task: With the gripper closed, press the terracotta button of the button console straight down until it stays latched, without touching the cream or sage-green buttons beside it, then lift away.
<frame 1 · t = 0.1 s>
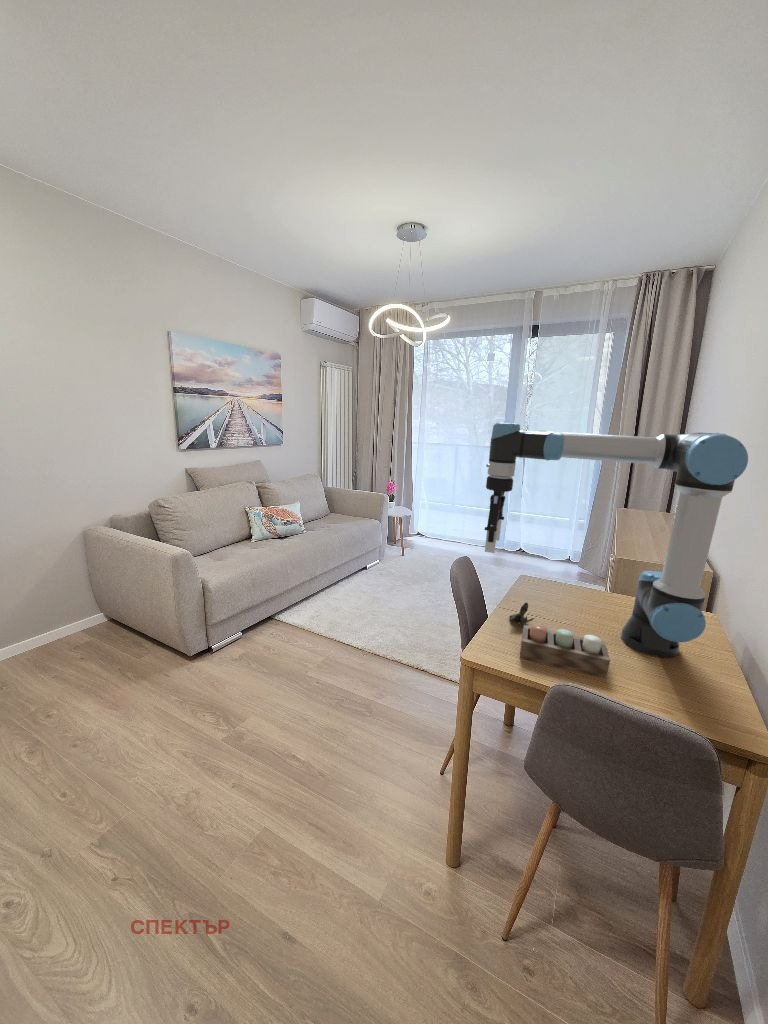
hand: (492, 545, 126), 28 cm above the table, fingers open, 13 cm apart
cream button: (591, 647, 114), point 6 cm above the table, slide at 0.0 cm
console: (561, 658, 118), on the table
terracotta button: (537, 635, 119), point 6 cm above the table, slide at 0.0 cm
eagle figurine: (519, 623, 137), on the table
sage button: (563, 641, 116), point 6 cm above the table, slide at 0.0 cm
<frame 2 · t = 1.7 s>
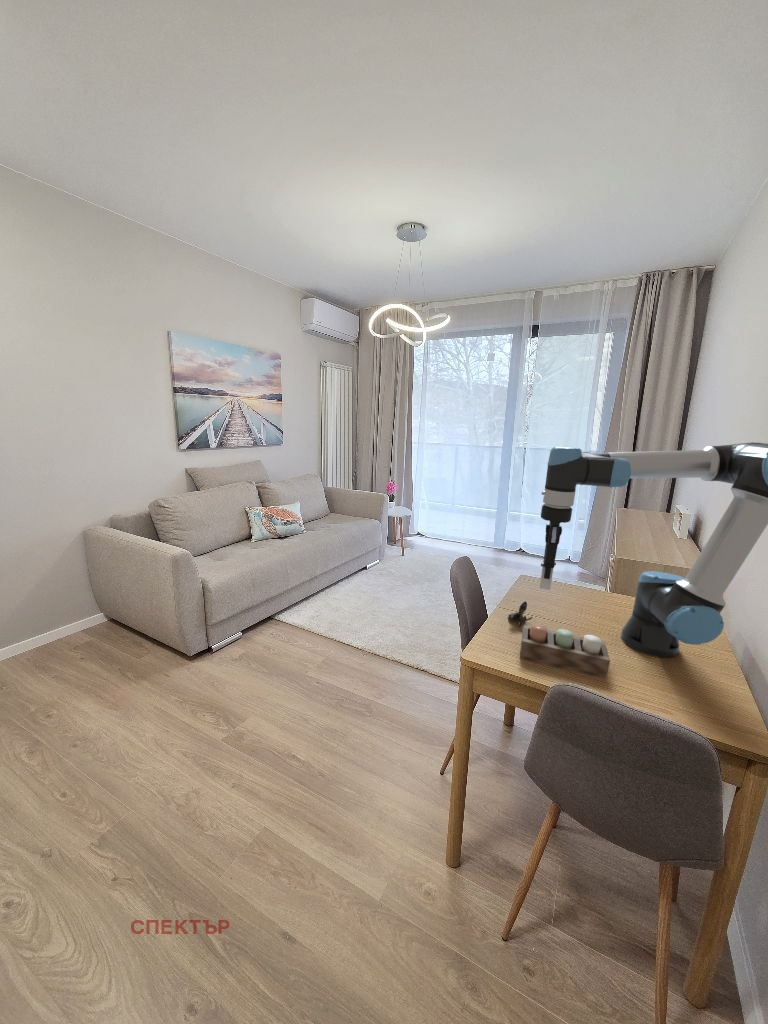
hand: (544, 587, 115), 20 cm above the table, fingers closed
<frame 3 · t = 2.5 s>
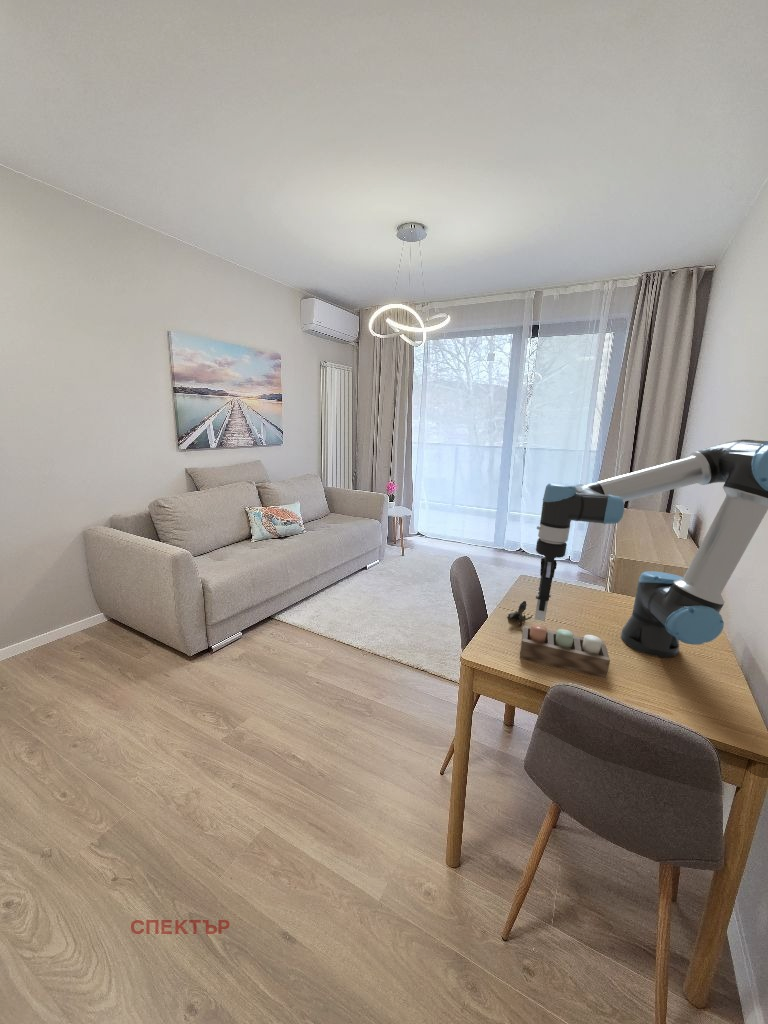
hand: (539, 619, 118), 11 cm above the table, fingers closed
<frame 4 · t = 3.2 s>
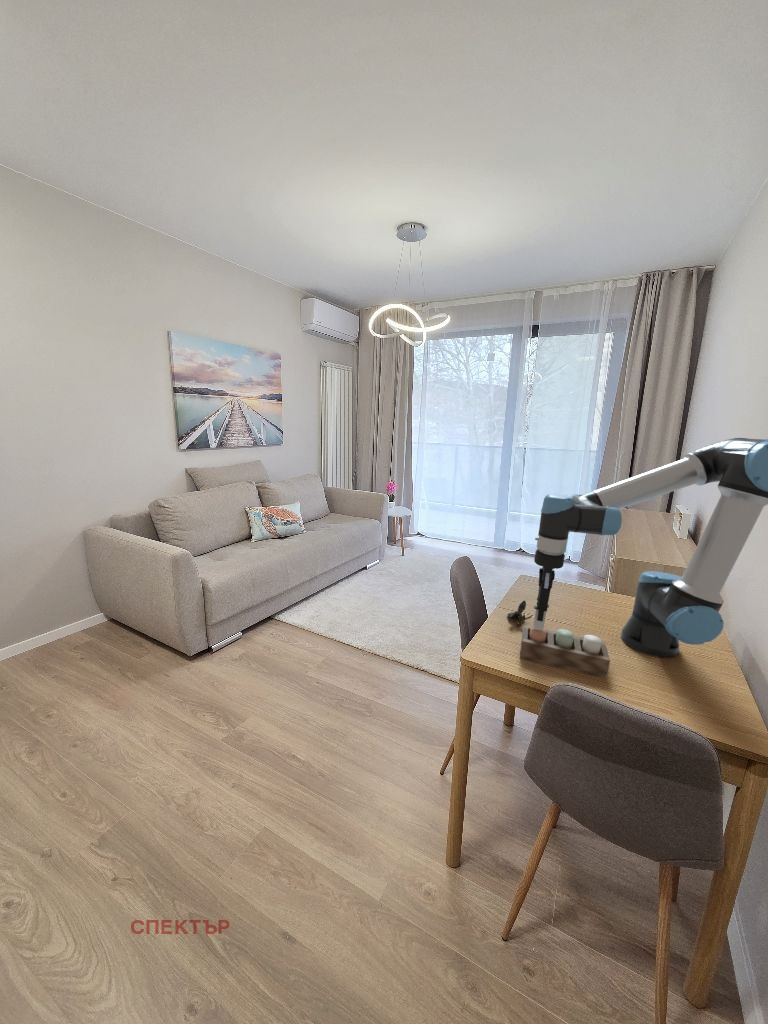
hand: (538, 629, 118), 8 cm above the table, fingers closed
terracotta button: (537, 637, 119), point 5 cm above the table, slide at 0.8 cm, touching gripper
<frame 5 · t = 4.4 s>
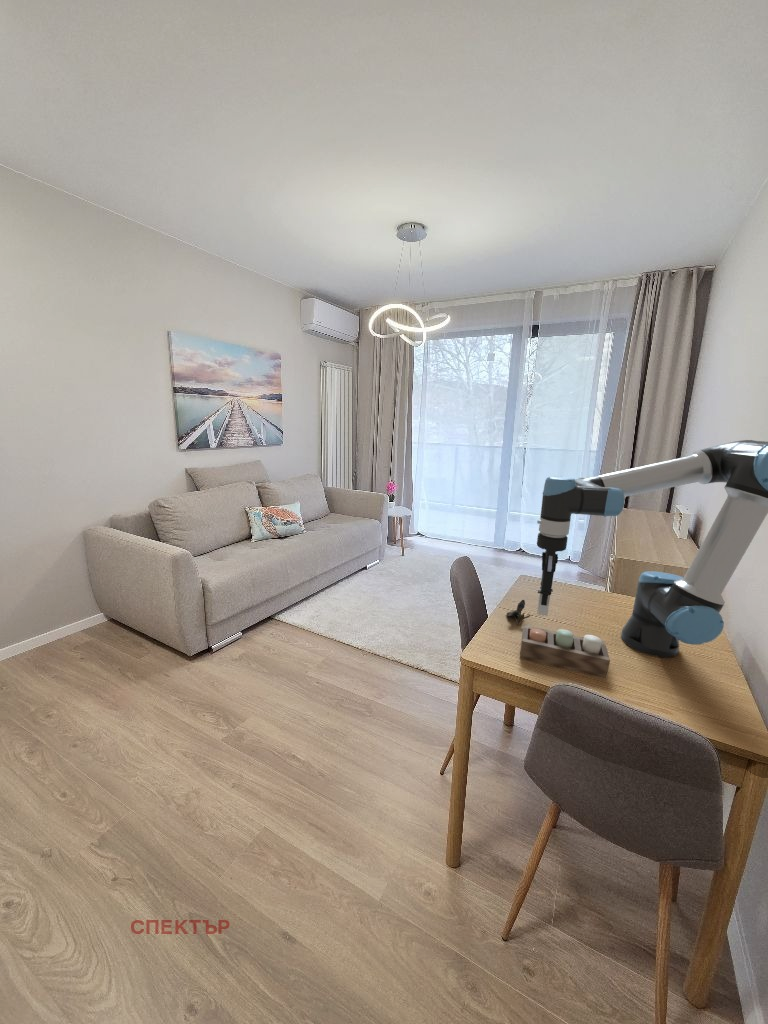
hand: (542, 613, 117), 12 cm above the table, fingers closed
terracotta button: (536, 640, 119), point 4 cm above the table, slide at 1.5 cm
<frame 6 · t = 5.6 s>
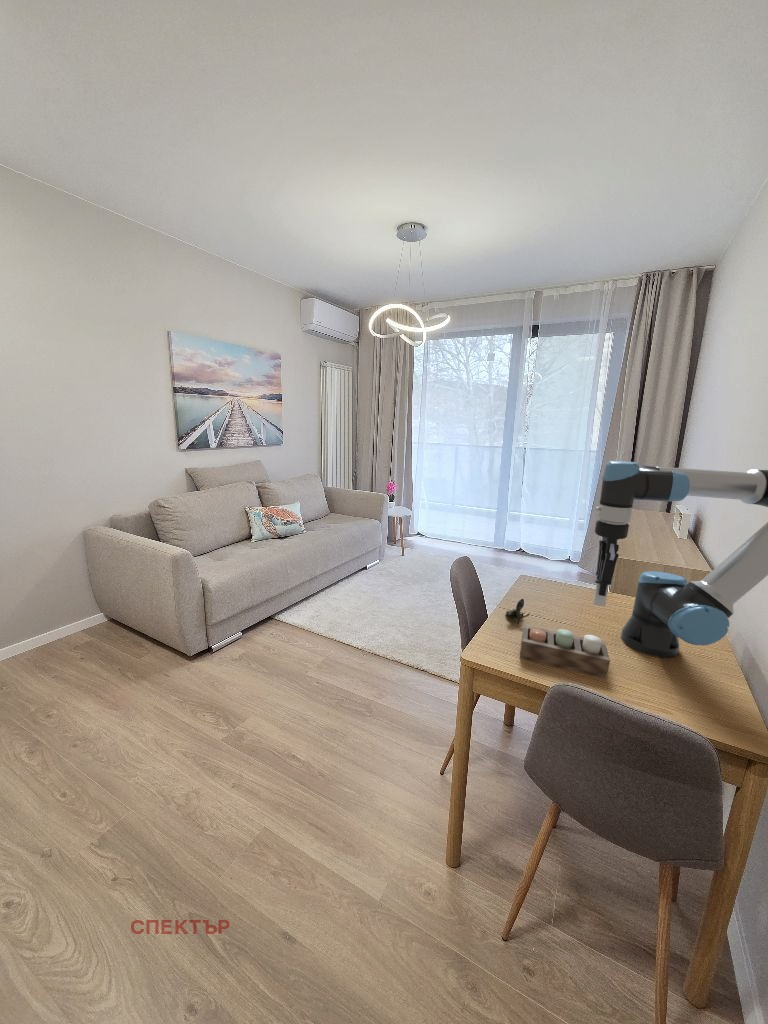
hand: (599, 604, 113), 18 cm above the table, fingers closed
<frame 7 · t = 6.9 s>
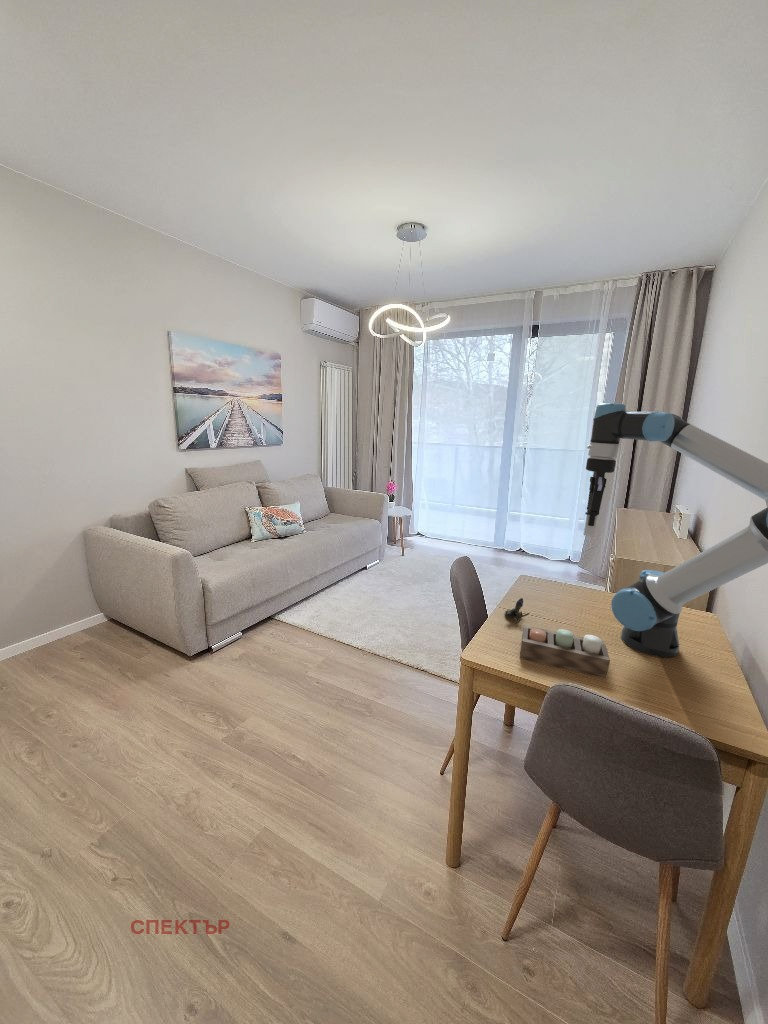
hand: (588, 535, 126), 32 cm above the table, fingers closed
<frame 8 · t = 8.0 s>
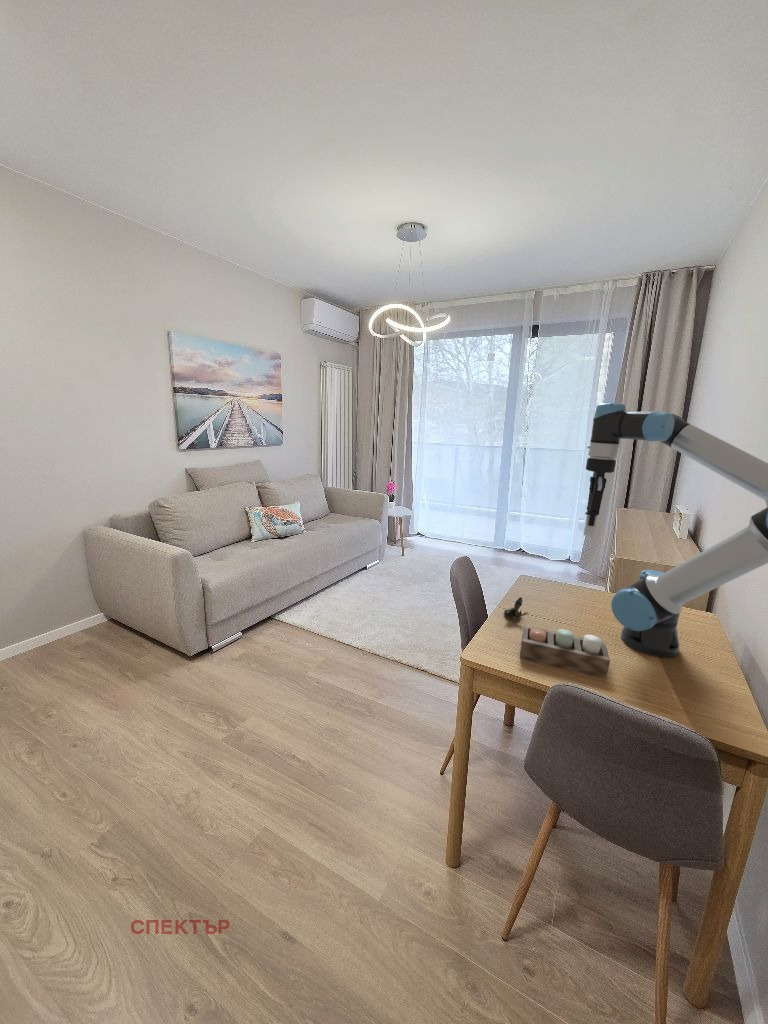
hand: (588, 535, 126), 32 cm above the table, fingers closed
at the end: terracotta button slide at 1.5 cm; sage button slide at 0.0 cm; cream button slide at 0.0 cm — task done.
